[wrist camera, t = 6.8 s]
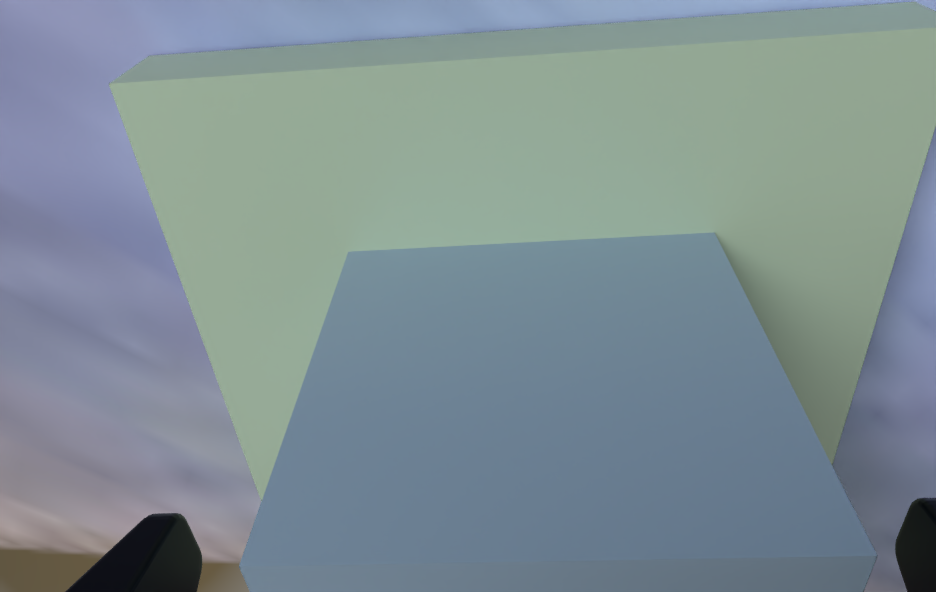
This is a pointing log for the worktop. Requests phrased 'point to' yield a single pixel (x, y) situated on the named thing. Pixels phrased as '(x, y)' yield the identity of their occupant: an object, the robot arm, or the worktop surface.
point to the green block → (540, 172)
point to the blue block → (551, 433)
